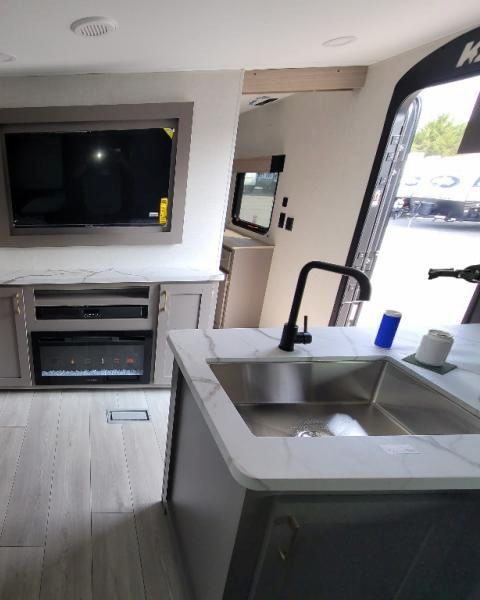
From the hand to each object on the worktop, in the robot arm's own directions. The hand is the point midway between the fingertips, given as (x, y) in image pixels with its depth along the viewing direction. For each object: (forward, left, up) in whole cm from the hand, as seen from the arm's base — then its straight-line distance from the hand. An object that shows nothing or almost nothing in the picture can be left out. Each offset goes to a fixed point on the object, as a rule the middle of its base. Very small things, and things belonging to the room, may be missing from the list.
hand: (454, 280), depth 120 cm
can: (-6, +17, -27) cm, 32 cm away
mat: (-6, +17, -27) cm, 33 cm away
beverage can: (+8, +17, -27) cm, 33 cm away
